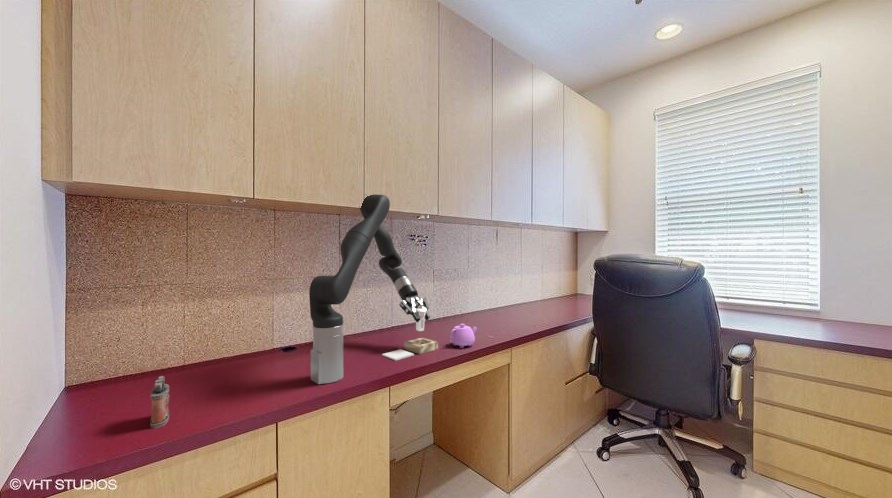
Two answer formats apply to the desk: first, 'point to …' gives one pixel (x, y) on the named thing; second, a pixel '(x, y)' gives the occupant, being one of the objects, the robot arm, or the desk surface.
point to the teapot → (463, 335)
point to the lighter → (159, 403)
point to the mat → (397, 354)
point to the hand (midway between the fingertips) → (423, 319)
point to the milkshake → (421, 319)
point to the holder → (421, 345)
